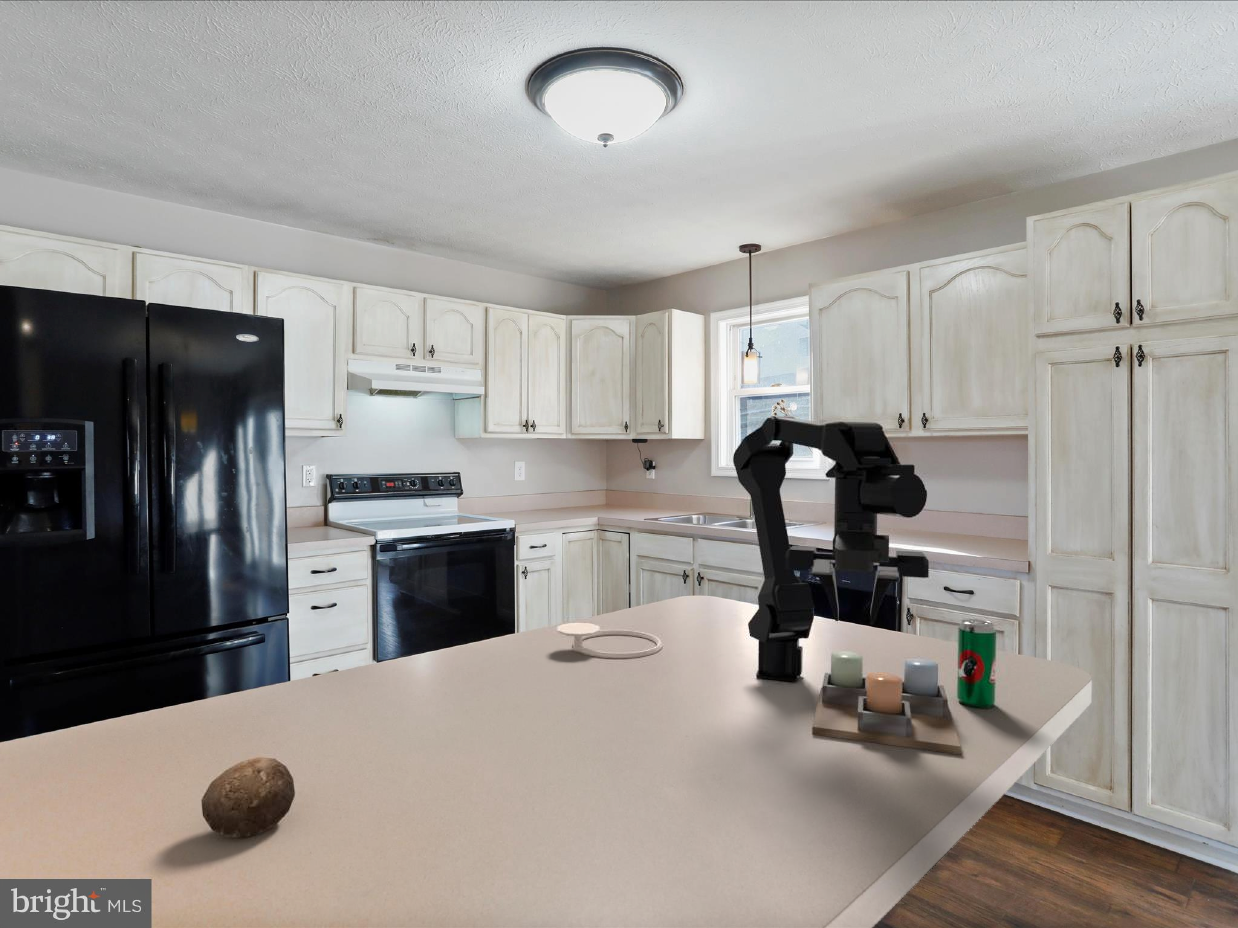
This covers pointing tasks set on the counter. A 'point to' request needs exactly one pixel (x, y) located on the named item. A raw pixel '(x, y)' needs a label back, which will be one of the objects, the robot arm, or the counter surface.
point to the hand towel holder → (591, 630)
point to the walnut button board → (886, 719)
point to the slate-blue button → (921, 677)
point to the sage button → (846, 669)
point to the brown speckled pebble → (248, 797)
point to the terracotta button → (884, 693)
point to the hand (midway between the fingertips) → (854, 622)
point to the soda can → (976, 663)
